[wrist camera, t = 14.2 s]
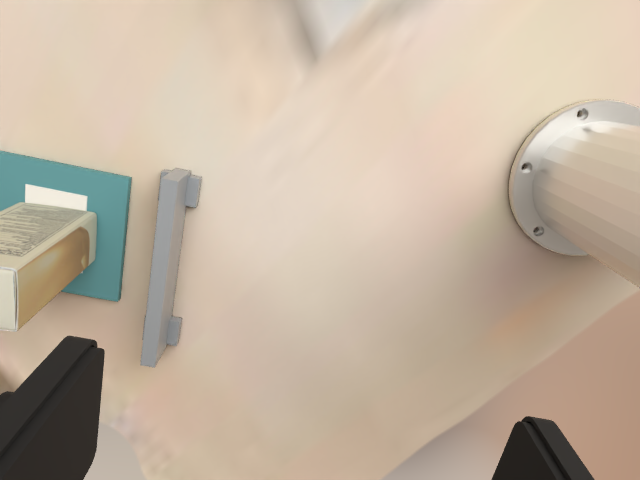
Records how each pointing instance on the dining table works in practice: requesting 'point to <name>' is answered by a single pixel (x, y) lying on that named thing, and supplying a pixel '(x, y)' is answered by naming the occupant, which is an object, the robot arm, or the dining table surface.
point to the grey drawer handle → (167, 262)
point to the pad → (83, 194)
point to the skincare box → (40, 256)
